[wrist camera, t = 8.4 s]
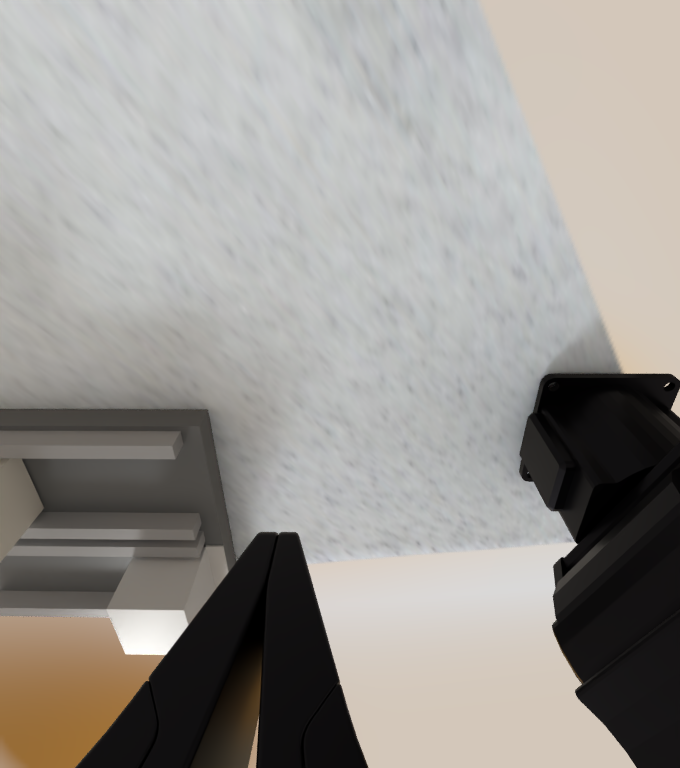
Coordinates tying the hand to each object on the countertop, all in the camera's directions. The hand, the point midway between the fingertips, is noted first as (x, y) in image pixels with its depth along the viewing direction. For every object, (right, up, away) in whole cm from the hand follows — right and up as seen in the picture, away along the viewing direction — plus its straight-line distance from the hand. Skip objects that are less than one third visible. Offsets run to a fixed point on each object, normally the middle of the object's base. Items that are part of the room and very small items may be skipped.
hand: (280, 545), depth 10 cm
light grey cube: (-9, -8, +18) cm, 21 cm away
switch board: (-14, -4, +18) cm, 22 cm away
